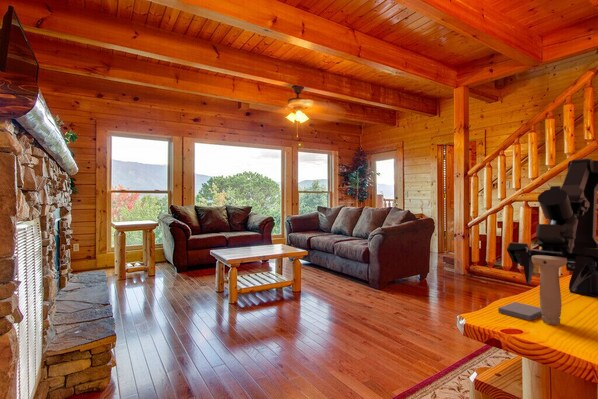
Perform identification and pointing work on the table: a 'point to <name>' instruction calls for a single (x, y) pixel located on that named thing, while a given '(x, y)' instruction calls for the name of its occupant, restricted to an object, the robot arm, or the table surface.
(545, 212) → the robot arm
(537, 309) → the plate
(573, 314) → the table surface
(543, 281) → the handle
